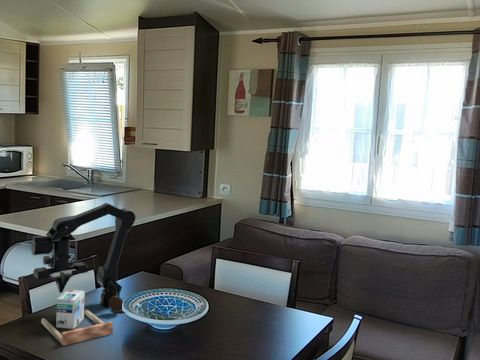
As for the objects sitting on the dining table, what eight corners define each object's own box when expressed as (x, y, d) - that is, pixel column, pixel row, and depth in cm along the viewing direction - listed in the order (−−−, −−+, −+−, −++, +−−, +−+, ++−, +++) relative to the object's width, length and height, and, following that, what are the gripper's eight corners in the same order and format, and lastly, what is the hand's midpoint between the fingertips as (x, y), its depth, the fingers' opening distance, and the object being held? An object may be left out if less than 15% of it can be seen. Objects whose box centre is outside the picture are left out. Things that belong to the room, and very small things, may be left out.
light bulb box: (74, 329, 172) (75, 300, 171) (55, 328, 172) (56, 298, 171) (84, 317, 183) (85, 290, 181) (66, 316, 183) (67, 288, 182)
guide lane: (87, 313, 187) (88, 303, 186) (112, 333, 171) (113, 322, 170) (41, 323, 175) (41, 312, 175) (63, 345, 159) (63, 334, 159)
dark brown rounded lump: (130, 308, 194) (131, 291, 194) (122, 315, 187) (122, 297, 186) (112, 305, 196) (113, 288, 195) (102, 313, 188) (103, 294, 188)
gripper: (77, 244, 195) (76, 282, 197) (28, 250, 183) (28, 290, 184) (88, 251, 186) (87, 290, 188) (38, 257, 174) (38, 299, 176)
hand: (60, 292), depth 184 cm, fingers closed
